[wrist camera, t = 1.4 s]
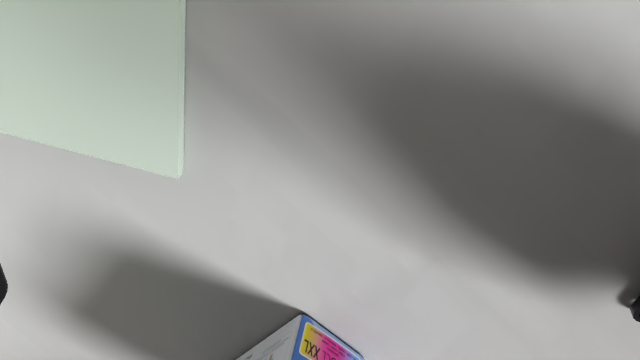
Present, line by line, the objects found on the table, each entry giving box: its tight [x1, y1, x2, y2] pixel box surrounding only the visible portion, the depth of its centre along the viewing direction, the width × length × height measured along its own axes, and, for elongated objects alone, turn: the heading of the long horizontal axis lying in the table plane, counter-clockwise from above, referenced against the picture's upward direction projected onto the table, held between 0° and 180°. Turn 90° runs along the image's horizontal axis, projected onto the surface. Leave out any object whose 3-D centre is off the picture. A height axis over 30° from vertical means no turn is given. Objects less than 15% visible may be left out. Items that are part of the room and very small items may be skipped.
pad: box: [0, 0, 186, 179], centre depth 21 cm, size 10×10×1 cm
